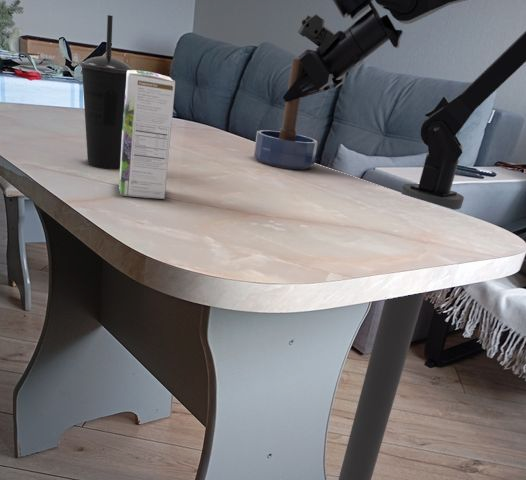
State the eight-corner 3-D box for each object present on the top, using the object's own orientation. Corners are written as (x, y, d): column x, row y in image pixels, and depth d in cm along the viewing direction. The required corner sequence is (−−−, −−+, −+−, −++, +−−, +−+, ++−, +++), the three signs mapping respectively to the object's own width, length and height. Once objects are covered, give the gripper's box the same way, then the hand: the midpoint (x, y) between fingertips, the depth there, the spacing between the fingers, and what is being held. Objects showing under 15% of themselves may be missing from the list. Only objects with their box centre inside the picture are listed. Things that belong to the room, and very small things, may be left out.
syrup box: (118, 185, 83) (123, 67, 76) (162, 189, 84) (171, 75, 78) (119, 196, 78) (125, 71, 71) (166, 200, 79) (176, 79, 73)
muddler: (293, 140, 118) (306, 60, 112) (297, 143, 115) (310, 61, 109) (276, 138, 117) (289, 57, 111) (280, 140, 114) (293, 58, 108)
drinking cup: (140, 167, 95) (149, 22, 86) (109, 173, 88) (115, 16, 79) (100, 157, 97) (104, 14, 88) (67, 161, 91) (68, 8, 82)
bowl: (279, 156, 125) (283, 130, 123) (324, 169, 119) (329, 142, 117) (241, 157, 117) (244, 130, 115) (287, 171, 111) (292, 143, 108)
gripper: (341, 5, 113) (274, 61, 120) (321, -7, 96) (245, 59, 103) (373, 59, 115) (306, 111, 122) (360, 56, 99) (283, 117, 105)
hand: (286, 99), depth 113 cm, fingers closed on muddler, 2 cm apart
